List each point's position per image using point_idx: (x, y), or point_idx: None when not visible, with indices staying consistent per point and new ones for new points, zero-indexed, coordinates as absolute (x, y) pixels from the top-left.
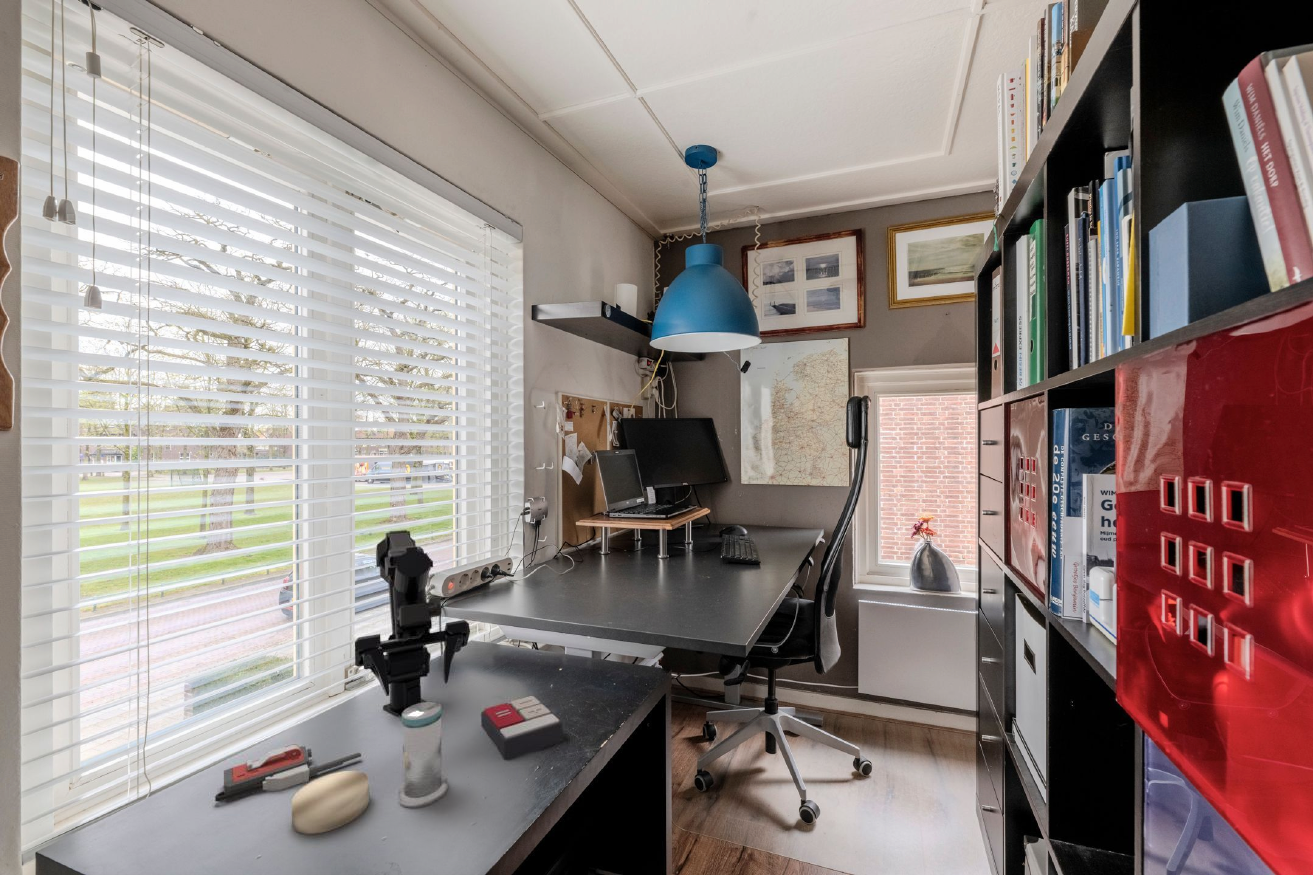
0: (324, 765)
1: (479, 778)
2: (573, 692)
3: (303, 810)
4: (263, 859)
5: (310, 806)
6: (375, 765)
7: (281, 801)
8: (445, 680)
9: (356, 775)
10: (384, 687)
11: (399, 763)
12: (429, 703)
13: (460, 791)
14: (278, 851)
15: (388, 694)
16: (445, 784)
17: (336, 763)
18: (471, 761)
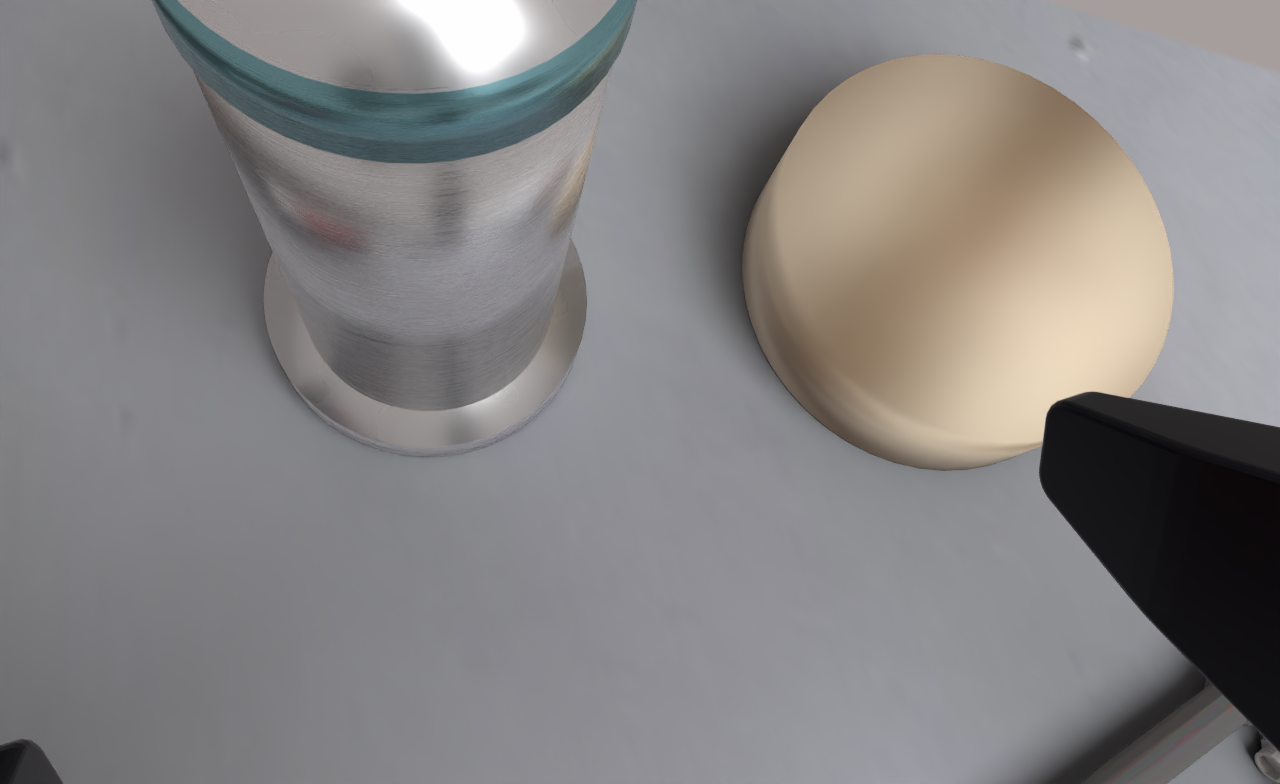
0: (1202, 715)
1: (39, 376)
2: None
3: (1038, 89)
4: (1049, 24)
5: (1021, 115)
6: (859, 744)
7: None
8: (25, 743)
9: (899, 367)
10: (1200, 419)
11: (688, 734)
12: (310, 21)
13: (179, 261)
14: (1016, 54)
15: (1050, 427)
16: (276, 278)
17: (1136, 745)
18: (101, 634)
